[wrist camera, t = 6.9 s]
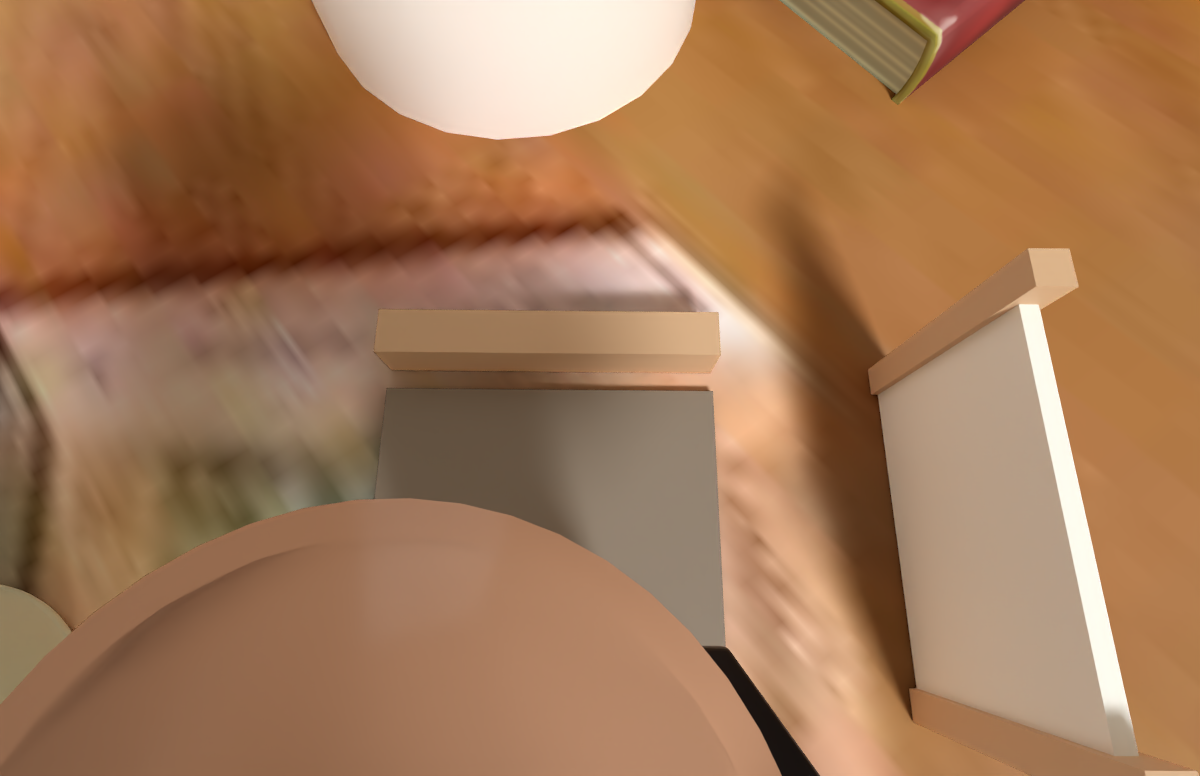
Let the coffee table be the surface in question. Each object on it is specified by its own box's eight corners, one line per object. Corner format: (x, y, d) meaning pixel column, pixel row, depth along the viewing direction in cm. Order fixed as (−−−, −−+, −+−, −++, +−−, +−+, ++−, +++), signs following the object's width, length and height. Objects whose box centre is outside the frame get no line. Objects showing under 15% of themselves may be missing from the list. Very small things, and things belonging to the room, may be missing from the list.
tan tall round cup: (441, 873, 15) (-191, 2158, 3) (374, 608, 17) (-194, 681, 5) (687, 764, 16) (1033, 1391, 4) (598, 522, 18) (625, 390, 5)
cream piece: (988, 1036, 17) (1371, 1481, 9) (317, 1036, 17) (45, 1488, 9) (889, 335, 24) (1057, 198, 15) (395, 330, 24) (283, 189, 15)
